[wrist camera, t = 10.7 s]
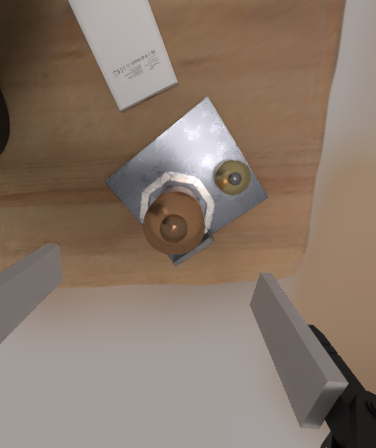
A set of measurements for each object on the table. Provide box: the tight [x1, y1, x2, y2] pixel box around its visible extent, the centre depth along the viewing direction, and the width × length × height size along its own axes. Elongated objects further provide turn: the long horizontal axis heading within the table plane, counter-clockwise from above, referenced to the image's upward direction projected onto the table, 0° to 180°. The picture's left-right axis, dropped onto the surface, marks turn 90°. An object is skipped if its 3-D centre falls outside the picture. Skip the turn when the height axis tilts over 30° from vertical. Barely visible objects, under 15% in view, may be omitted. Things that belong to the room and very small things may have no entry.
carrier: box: [105, 97, 268, 267], centre depth 27 cm, size 18×16×4 cm
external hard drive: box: [68, 0, 178, 112], centre depth 23 cm, size 2×8×12 cm
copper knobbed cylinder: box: [143, 186, 205, 255], centre depth 25 cm, size 7×7×9 cm
